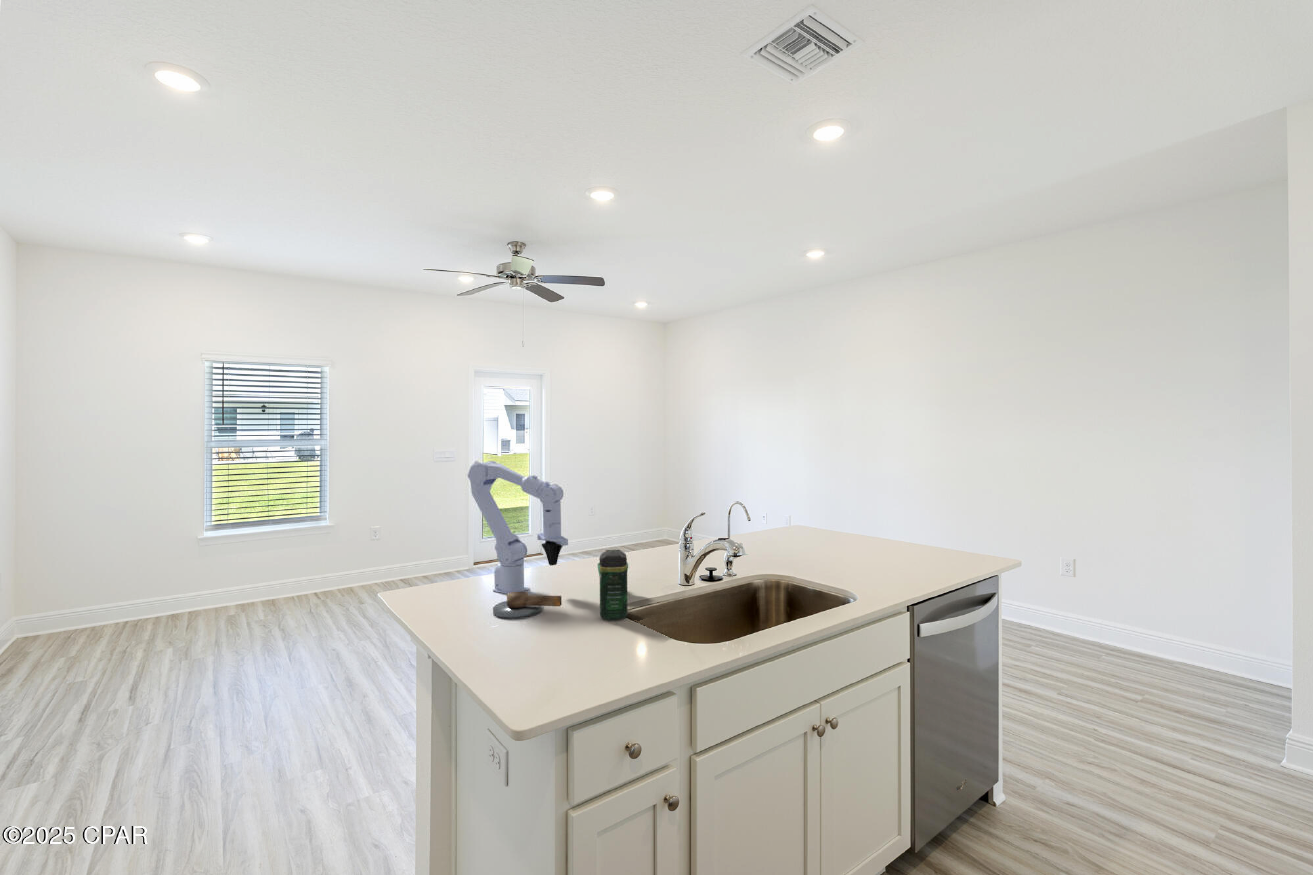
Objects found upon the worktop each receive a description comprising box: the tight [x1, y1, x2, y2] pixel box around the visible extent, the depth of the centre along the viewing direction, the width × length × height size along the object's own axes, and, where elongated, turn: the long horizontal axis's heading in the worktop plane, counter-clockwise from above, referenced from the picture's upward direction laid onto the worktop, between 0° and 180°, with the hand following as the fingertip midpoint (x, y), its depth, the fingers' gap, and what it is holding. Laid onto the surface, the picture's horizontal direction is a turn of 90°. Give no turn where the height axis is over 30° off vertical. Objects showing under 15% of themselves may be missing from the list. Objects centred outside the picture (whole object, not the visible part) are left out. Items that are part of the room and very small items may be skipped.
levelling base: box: [492, 600, 543, 620], centre depth 174 cm, size 14×14×2 cm
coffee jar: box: [598, 549, 628, 622], centre depth 168 cm, size 10×8×19 cm
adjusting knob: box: [506, 591, 562, 608], centre depth 173 cm, size 16×6×3 cm, turn 83°
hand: (552, 564), depth 191 cm, fingers closed
